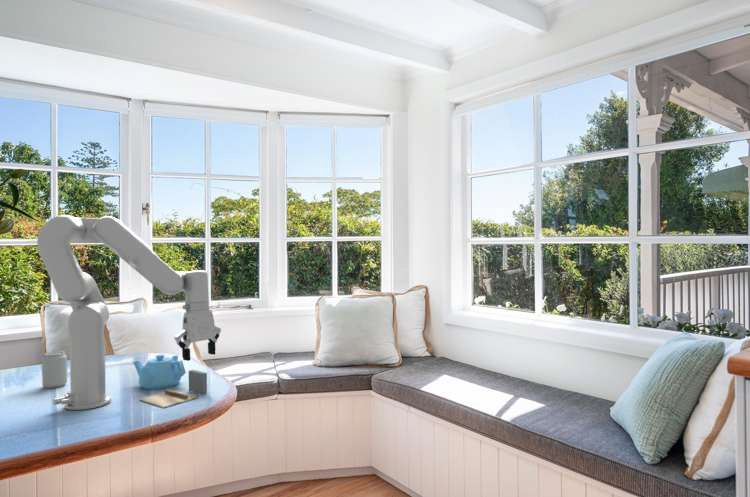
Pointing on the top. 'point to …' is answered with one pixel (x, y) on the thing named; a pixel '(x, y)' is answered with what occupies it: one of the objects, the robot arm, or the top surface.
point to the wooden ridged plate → (168, 398)
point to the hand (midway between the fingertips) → (199, 357)
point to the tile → (198, 382)
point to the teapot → (160, 372)
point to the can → (54, 369)
